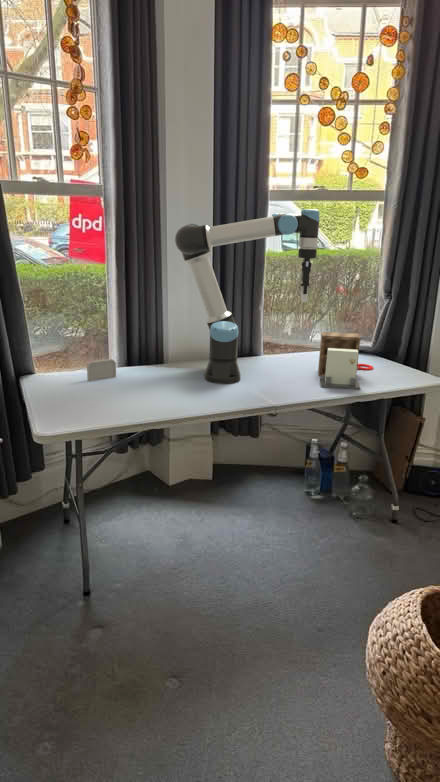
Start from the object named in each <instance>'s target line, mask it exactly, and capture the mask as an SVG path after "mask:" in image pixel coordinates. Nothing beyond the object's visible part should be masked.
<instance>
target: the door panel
mask: <svg viewBox="0 0 440 782" xmlns="http://www.w3.org/2000/svg"><path fill="white" fill-rule="evenodd" d="M357 360H358V361H359V355H358V350H353V349H336V348H328V352H327V362H326V373H325V376H324V378H325V383H326V377H331V384H347V385H350V381H351V378H355V379H357V373H356V369H357Z"/></svg>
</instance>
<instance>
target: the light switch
mask: <svg viewBox="0 0 440 782" xmlns="http://www.w3.org/2000/svg"><path fill="white" fill-rule="evenodd" d="M86 377H87V379H86V380H87V381H88V382H92V381H97V380H104V379H111V378H117V362H116V361H115V360H114V359H112V358H107V359H99V360H93V361H89V362H88V363H87V364H86Z"/></svg>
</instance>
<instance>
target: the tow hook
mask: <svg viewBox="0 0 440 782" xmlns="http://www.w3.org/2000/svg"><path fill="white" fill-rule="evenodd" d="M360 347H361V345H360V346H359V349H360ZM357 370H362V371H373V370H374V366H373V365H370V364H366V363H358V364H357Z"/></svg>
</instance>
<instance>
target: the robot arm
mask: <svg viewBox="0 0 440 782" xmlns="http://www.w3.org/2000/svg"><path fill="white" fill-rule="evenodd" d="M319 228H320V211H319V209H314V208H313V209H307V208H305V209H304V208H302V209H301V212H300V213H286V212H285V213H284V212H283V213H282V212H277V213H276V212H275V213H273V214H272V215H271V216H268V217H261V218H255V219H248V220H243V221H238V222H237V221H236V222H231V223H227V224H219V225H213V226H209V225H207V224H203V225H198V224H196V223H188V224H186V225H183V226H182V227H180V228H179V229H178V230H177V231H176V234H175V237H174V238H175V239H174V241H175V243H174V244H175V246H176V248H177V249H178V250H179V252H180V253H181V254H182V257H183V260H184V262H186V263H187V264H189V266H190V270H191V272H192V274H193V278H194V280H195V283H196V285H197V288H198V292H199V295H200V297H201V299H202V303H203V305H204V308H205V311H206V314H207V316H208V317H207V320H206V323H207V327H208V329H209V352H208V353H209V359H208V360H209V361H208V362H207V365H206V369H205V371H204V380H206V381H208V382H211V383H214V384H223V385H225V384H235V383H238V382H240V380H241V376H242V375H241V370H240V368H239V363H238V348H239V347H238V344H239V332H240V331H239V326H238V325H237V323H236V320H235V318H234V316H233V313H232V312H231V311H229V310H227V305H226V303H225V301H224V297H223V293H222V291H221V289H220V286H219V283H218V280H217V277H216V274H215V271H214V268H213V265H212V262H211V260H210V254H211V253H212V252H211V250H212V248H213V247H218V246H224V245H229V244H235V243H240V242H241V243H242V242H249V241H254V240H259V239H260V240H261V239H265V238H271V237H278V236H284V235H285V236H289V235H292V234H299V239H298V247H299V249H298V250H297V251H298V253H297V257H298V258H300V259H302V260H303V261H301V272H302V274H301V284H300V287H301V289H300V302H301V303H308V301H309V300H308V299H309V288H310V287H309V285H310V274H311V270H312V269H311V268H312V264H313V263H312V262H311V259H316V258H317V253H318V251H317V247H318V243H319V242H320V240H319V239H318V238H319V237H318V236H319Z"/></svg>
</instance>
